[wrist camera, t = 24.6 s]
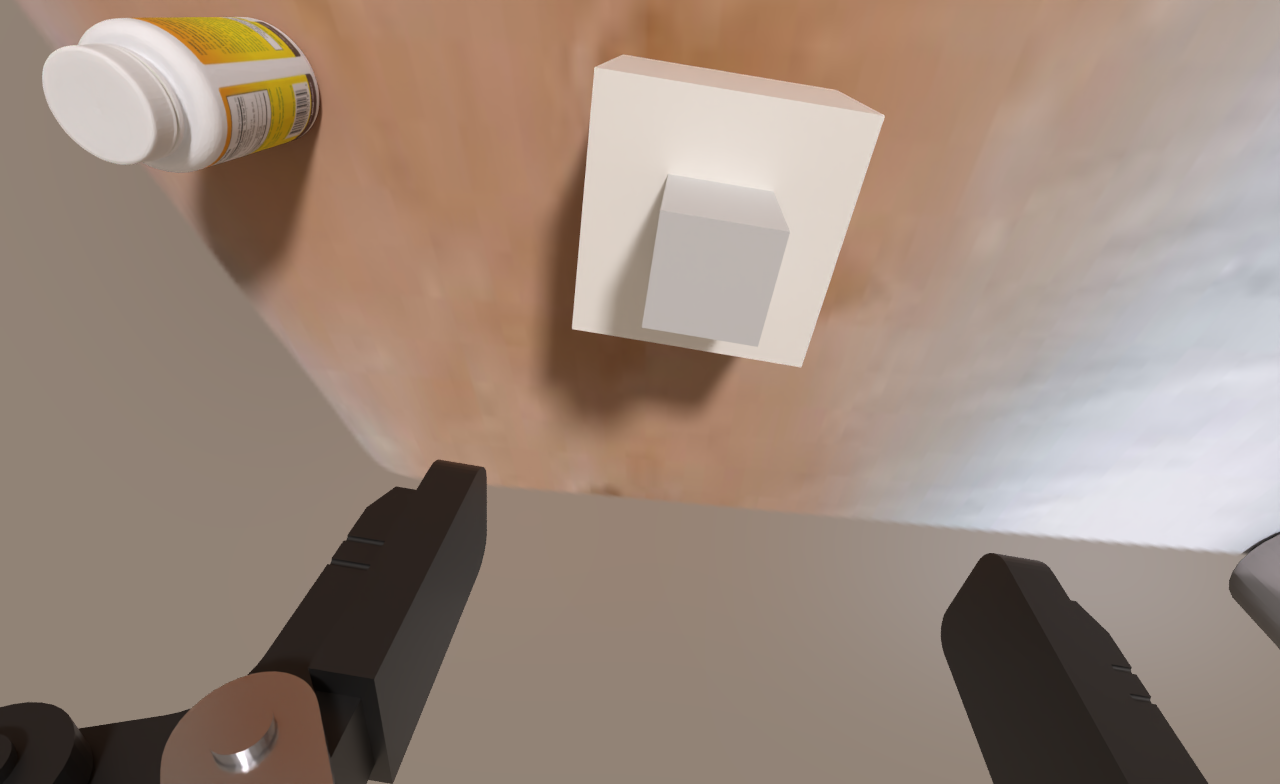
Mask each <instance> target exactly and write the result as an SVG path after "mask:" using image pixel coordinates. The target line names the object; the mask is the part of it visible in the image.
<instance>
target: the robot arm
mask: <svg viewBox="0 0 1280 784" xmlns="http://www.w3.org/2000/svg"><path fill="white" fill-rule="evenodd" d="M486 489H487V477H486V470H485V468H484V467H480V466H474V465H468V464H462V463H456V462H450V461H444V460H436V461H435V462H434V463H433V464H432V465H431V467H430V468H429V470H428V472H427V473H426V475H425V477H424V478H423V480H422V482H421V483H420V485H419V487H418V488H417V490H413V489H407V488H401V487H395V488H393V489H392V490H390V491H389V492H388V493H386V494H385V495H383V496H382V497H381V498H379V499H378V500H377V501H375V502H374V503H372V504H371V505H370V506H368V507H367V508H366V509H365V511H364V512H363V514H362V515H361V516H360V518H359V519H358V521H357V522H356V524H355V525H354V527H353V528H352V530H351V531H350V532H349V534H348V538H347V540H346V541H343V543H342V544H341V546H340V547H339V548H338V550H337V551H336V553H335V554H334V556H333V557H332V561H331V564H330V565H329V564H327V566H326V567H325V569H324V571H323V572H322V573H321V574H320V576H319V578H318V579H317V581H316V582H315V583H314V585H313V586H312V588H311V589H310V590H309V592H308V593H307V595H306V596H305V598H304V599H303V601H302V602H301V604H300V605H299V607H298V608H297V609H296V611H295V612H294V614H293V615H292V617H291V618H290V619H289V621H288V622H287V624H286V625H285V627H284V628H283V630H282V631H281V633H280V634H279V636H278V637H277V638H276V640H275V641H274V643H273V644H272V646H271V647H270V648H269V650H268V651H267V653H266V654H265V656H264V657H263V658H262V660H261V661H260V662H259V663H258V665H257V666H256V667H255V668H254V669H253V670H252V671H251V672H250V673H249V674H248V675H247V676H244V677H240V678H237V679H235V680H233V681H230V682H228V683H226V684H224V685H223V686H221V687H219V688H217V689H215V690H214V691H212V692H211V693H209V694H208V695H207V696H205V697H204V698H202V699H201V700H200V701H199V702H198V703H197V704H196V705H194V706H193V707H192V708H191V709H188V710H185V711H182V712H179V713H174V714H169V715H164V716H158V717H151V718H145V719H139V720H132V721H125V722H119V723H112V724H106V725H99V726H93V727H86V728H80V729H78V728H77V726H76V725H75V723H74V722H73V721H72V719H71V718H70V717H69V715H68V714H67V713H66V712H65V711H63V710H62V709H61V708H58V707H56V706H54V705H51V704H45V703H29V702H28V703H20V704H13V705H9V706H4V707H0V784H366V783H367V781H368V780H374V781H379V782H385V783H391V784H393V782H394V780H395V777H396V775H397V772H398V770H399V767H400V765H401V762H402V760H403V757H404V755H405V752H406V750H407V747H408V745H409V742H410V740H411V738H412V735H413V732H414V730H415V727H416V725H417V723H418V720H419V718H420V715H421V713H422V711H423V708H424V705H425V703H426V701H427V698H428V696H429V693H430V690H431V688H432V686H433V683H434V681H435V678H436V676H437V673H438V671H439V669H440V666H441V664H442V661H443V659H444V656H445V653H446V651H447V649H448V647H449V644H450V642H451V639H452V636H453V634H454V632H455V629H456V627H457V624H458V622H459V619H460V617H461V614H462V612H463V610H464V607H465V605H466V602H467V600H468V597H469V595H470V592H471V590H472V587H473V585H474V583H475V580H476V578H477V575H478V572H479V570H480V566H481V563H482V559H483V555H484V551H485V545H486V536H487V520H486V519H487V490H486ZM1229 590H1230V592H1231V595H1232V597H1233V598H1234V599H1235V600H1236V602H1237V603H1238V604H1239V605H1240V606H1241V607H1242V608H1243V609H1244V610H1245V611H1246V613H1248V615H1249V616H1250V617H1251V618H1252V619H1253V620H1254V621H1255V622H1256V623H1257V625H1258V626H1259V627H1260V628H1261V629H1262V630H1263V631H1264V632H1265V633H1266V634H1267V636H1268V637H1269V638H1270V639H1271V640H1272V641H1273V642H1274V643H1275V644H1276V645H1277V646H1278V648H1279V649H1280V534H1279V535H1277V536H1276V537H1274V538H1272V539H1270V540H1268V541H1266V542H1264V543H1262V544H1261V545H1259V546H1258V547H1257V548H1255V549H1254V550H1252V551H1251V552H1250V553H1248V554H1247V555H1246V556H1245V557H1244V558H1243V559H1242V560H1241V561H1240V562H1239V564H1238V565H1237V566H1236V568H1235V569H1234V571H1233V573H1232V575H1231V578H1230V580H1229ZM941 642H942V648H943V651H944V655H945V657H946V660H947V662H948V665H949V668H950V670H951V672H952V675H953V678H954V681H955V683H956V686H957V689H958V691H959V694H960V697H961V699H962V702H963V704H964V707H965V710H966V712H967V715H968V718H969V720H970V723H971V725H972V728H973V731H974V733H975V736H976V738H977V741H978V744H979V747H980V749H981V752H982V754H983V757H984V760H985V762H986V765H987V768H988V770H989V773H990V775H991V778H992V781H993V783H994V784H1208V782H1207V781H1206V779H1205V778H1204V776H1203V775H1202V773H1201V772H1200V770H1199V769H1198V767H1197V766H1196V764H1195V763H1194V761H1193V760H1192V758H1191V757H1190V755H1189V754H1188V752H1187V751H1186V749H1185V748H1184V746H1183V745H1182V743H1181V742H1180V740H1179V739H1178V737H1177V736H1176V734H1175V733H1174V731H1173V730H1172V728H1171V726H1170V725H1169V723H1168V722H1167V720H1166V719H1165V717H1164V716H1163V714H1162V713H1161V711H1160V710H1159V708H1158V707H1157V705H1155V704H1151V702H1150V698H1151V696H1150V695H1149V693H1148V692H1147V690H1146V689H1145V687H1144V686H1143V684H1142V683H1141V681H1140V680H1139V678H1138V677H1137V675H1135V674H1132V673H1131V666H1130V664H1129V663H1128V662H1127V660H1126V658H1125V657H1124V656H1123V654H1122V652H1121V651H1120V650H1119V648H1118V646H1117V645H1116V643H1115V642H1114V641H1113V639H1112V637H1111V636H1110V634H1109V633H1108V632H1107V631H1106V630H1105V629H1104V628H1103V627H1102V626H1101V625H1100V624H1099V623H1098V622H1097V621H1096V620H1095V619H1094V618H1092V616H1090V615H1089V614H1088V613H1087V612H1086V611H1085V610H1084V609H1083V608H1082V607H1081V606H1080V605H1079V604H1078V603H1077V602H1076V601H1071V600H1070V599H1069V597H1068V596H1067V594H1066V593H1065V591H1064V589H1063V588H1062V586H1061V585H1060V583H1059V581H1058V580H1057V578H1056V577H1055V575H1054V574H1053V572H1052V571H1051V569H1050V568H1049V567H1048V566H1047V565H1046V564H1044V563H1043V562H1040V561H1036V560H1030V559H1024V558H1018V557H1012V556H1006V555H1000V554H994V553H989V554H986V555H984V556H983V557H982V558H980V560H979V561H978V563H977V564H976V566H975V567H974V569H973V570H972V572H971V573H970V575H969V576H968V578H967V580H966V581H965V583H964V584H963V586H962V587H961V589H960V590H959V592H958V593H957V595H956V597H955V598H954V600H953V601H952V603H951V604H950V606H949V607H948V609H947V611H946V613H945V614H944V617H943V621H942V626H941Z"/></svg>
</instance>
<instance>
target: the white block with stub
mask: <svg viewBox="0 0 1280 784" xmlns="http://www.w3.org/2000/svg"><path fill="white" fill-rule="evenodd" d="M884 117H885V115H883V114H881V113H879V112H877V111H875V110H873V109H871V108H870V107H868V106H866V105H864V104H862V103H860V102H858V101H856V100H854V99H853V98H851V97H849V96H847V95H845V94H843V93H841V92H839V91H838V90H833V89H827V88H821V87H815V86H809V85H803V84H797V83H791V82H785V81H779V80H773V79H767V78H761V77H755V76H749V75H743V74H737V73H731V72H725V71H719V70H713V69H707V68H701V67H695V66H689V65H683V64H677V63H671V62H665V61H659V60H653V59H647V58H641V57H635V56H629V55H621V56H619V57H616V58H614V59H612V60H610V61H608V62H605V63H603V64H601V65H599V66H596V67H595V69H594V81H593V92H592V104H591V115H590V126H589V138H588V149H587V161H586V172H585V184H584V195H583V207H582V218H581V230H580V241H579V253H578V264H577V276H576V287H575V299H574V310H573V322H572V329H575V330H581V331H587V332H593V333H599V334H605V335H611V336H617V337H623V338H629V339H635V340H641V341H647V342H653V343H659V344H665V345H671V346H677V347H683V348H689V349H695V350H701V351H707V352H713V353H719V354H725V355H731V356H737V357H743V358H749V359H755V360H761V361H767V362H773V363H779V364H785V365H791V366H797V367H802V364H803V361H804V358H805V355H806V352H807V349H808V346H809V343H810V340H811V337H812V334H813V331H814V328H815V325H816V322H817V319H818V316H819V313H820V310H821V307H822V304H823V301H824V298H825V295H826V292H827V289H828V286H829V283H830V280H831V277H832V274H833V271H834V268H835V265H836V262H837V259H838V255H839V252H840V249H841V246H842V243H843V240H844V237H845V234H846V231H847V228H848V225H849V222H850V219H851V216H852V213H853V210H854V207H855V204H856V201H857V198H858V195H859V192H860V189H861V186H862V183H863V180H864V177H865V174H866V171H867V168H868V165H869V162H870V159H871V156H872V153H873V150H874V147H875V144H876V141H877V138H878V135H879V132H880V129H881V126H882V123H883V120H884Z"/></svg>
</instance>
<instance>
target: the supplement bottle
mask: <svg viewBox="0 0 1280 784" xmlns="http://www.w3.org/2000/svg"><path fill="white" fill-rule="evenodd" d="M42 81H43V90H44V93H45V97H46V100H47V103H48V105H49V107H50V109H51V111H52V113H53V115H54V116H55V118H56V120H57V121H58V123H59V124H60V125H61V127H62V128H63V129H64V131H65V132H66V133H67V134H68V135H69V136H70V137H71V138H72V139H73V140H74V141H75V142H76V143H77V144H78V145H80V146H81V147H82V148H83V149H85V150H86V151H88V152H89V153H91V154H92V155H94V156H96V157H98V158H100V159H103V160H105V161H108V162H111V163H115V164H122V165H131V164H137V163H141V162H142V163H144V164H146V165H148V166H151V167H153V168H156V169H159V170H163V171H167V172H176V173H186V172H192V171H197V170H201V169H204V168H207V167H210V166H213V165H217V164H220V163H223V162H226V161H229V160H233V159H236V158H239V157H243V156H246V155H249V154H252V153H255V152H258V151H261V150H264V149H268V148H271V147H274V146H277V145H280V144H283V143H287V142H290V141H293V140H295V139H297V138H299V137H301V136H303V135H304V134H305V133H306V132H307V131H308V130H309V129H310V128H311V127H312V125H313V124H314V122H315V120H316V117H317V114H318V110H319V89H318V84H317V81H316V77H315V74H314V72H313V70H312V67H311V65H310V63H309V62H308V60H307V58H306V57H305V55H304V54H303V52H302V51H301V50H300V49H299V47H298V46H297V45H296V44H295V43H294V42H293V41H292V40H291V39H290V38H289V37H288V36H287V35H286V34H284V33H283V32H282V31H280V30H279V29H277V28H276V27H274V26H272V25H270V24H268V23H266V22H264V21H261V20H257V19H253V18H247V17H185V18H117V19H109V20H105V21H102V22H100V23H97V24H95V25H94V26H92V27H91V28H90V29H88V30H87V31H86V32H85V33H84V35H83V36H82V38H81V39H80V41H79V44H78V45H72V46H65V47H62V48H60V49H58V50H56V51H54V52H53V53H52V54H50V56H49V57H48V59H47V61H46V62H45V64H44V67H43V73H42Z"/></svg>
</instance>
